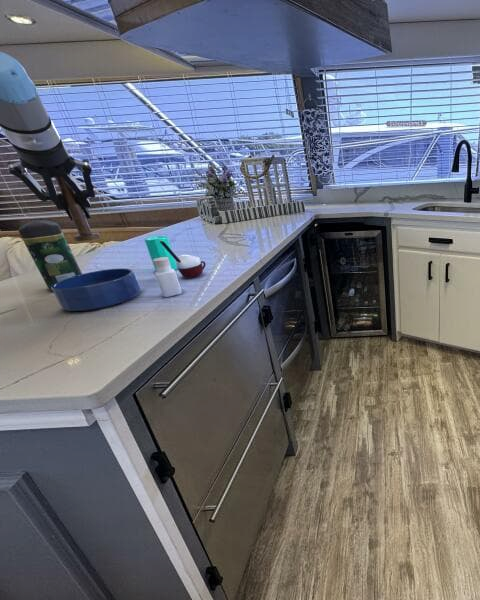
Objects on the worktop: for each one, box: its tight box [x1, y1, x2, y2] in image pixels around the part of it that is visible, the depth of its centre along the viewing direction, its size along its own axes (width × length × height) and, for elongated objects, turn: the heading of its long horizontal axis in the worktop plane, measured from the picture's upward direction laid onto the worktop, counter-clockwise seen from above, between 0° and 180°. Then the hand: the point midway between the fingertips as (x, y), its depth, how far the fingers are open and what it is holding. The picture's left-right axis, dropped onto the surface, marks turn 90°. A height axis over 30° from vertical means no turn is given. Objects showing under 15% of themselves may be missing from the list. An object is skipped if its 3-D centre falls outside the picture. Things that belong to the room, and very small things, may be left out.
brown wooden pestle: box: [53, 177, 101, 242], centre depth 80 cm, size 5×5×16 cm
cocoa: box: [160, 241, 206, 279], centre depth 94 cm, size 10×6×12 cm, turn 130°
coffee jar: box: [17, 219, 83, 292], centre depth 89 cm, size 10×8×19 cm
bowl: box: [51, 267, 141, 312], centre depth 80 cm, size 15×15×6 cm
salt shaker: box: [152, 257, 183, 298], centre depth 81 cm, size 4×4×10 cm
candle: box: [144, 232, 178, 272], centre depth 102 cm, size 6×6×12 cm
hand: (79, 215), depth 84 cm, fingers closed on brown wooden pestle, 2 cm apart
